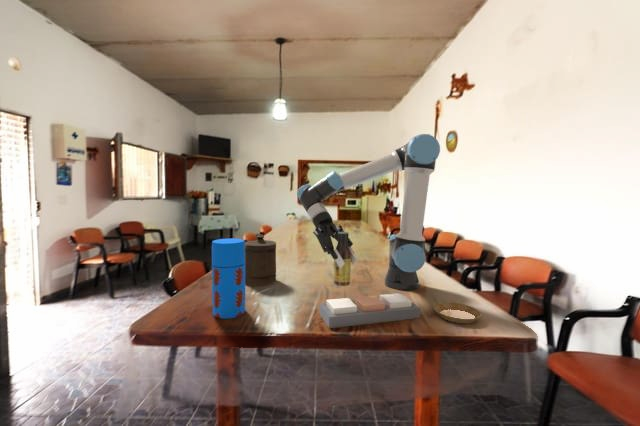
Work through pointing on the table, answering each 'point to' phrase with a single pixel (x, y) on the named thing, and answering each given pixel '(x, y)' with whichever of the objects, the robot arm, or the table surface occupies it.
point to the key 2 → (395, 301)
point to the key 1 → (341, 306)
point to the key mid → (369, 303)
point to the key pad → (367, 316)
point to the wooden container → (260, 262)
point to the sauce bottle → (343, 249)
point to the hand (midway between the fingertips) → (349, 264)
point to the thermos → (228, 278)
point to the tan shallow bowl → (457, 306)
